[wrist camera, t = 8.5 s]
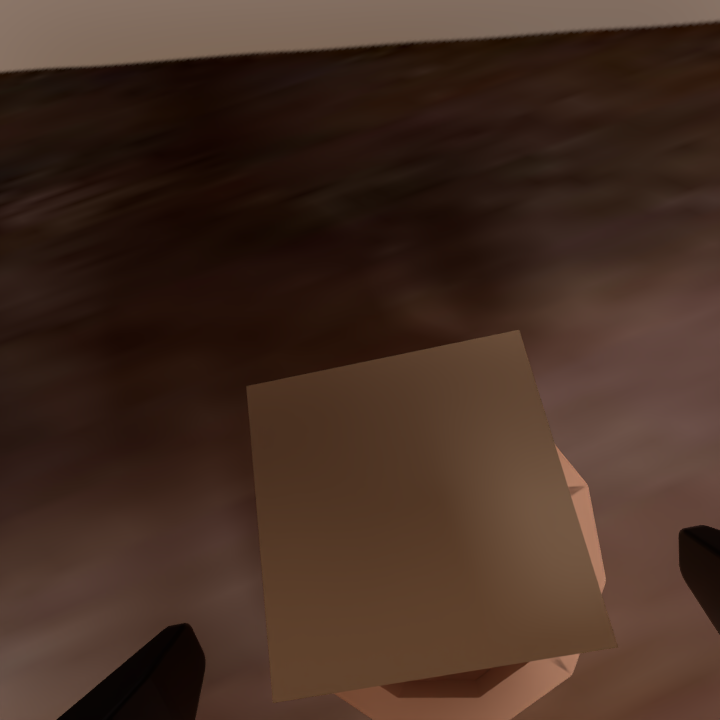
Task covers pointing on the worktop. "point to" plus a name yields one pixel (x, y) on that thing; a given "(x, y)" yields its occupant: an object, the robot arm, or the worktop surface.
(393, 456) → the tall square post
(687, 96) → the worktop surface
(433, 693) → the tan shallow dish
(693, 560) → the robot arm
